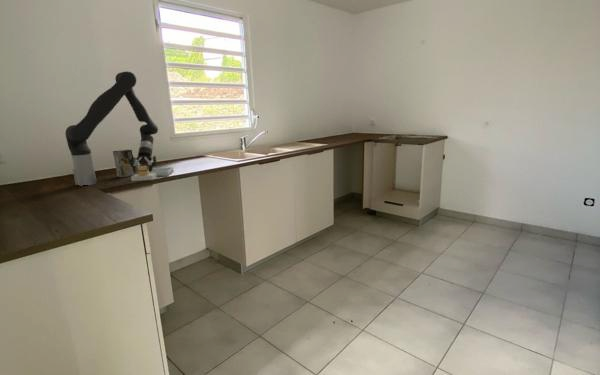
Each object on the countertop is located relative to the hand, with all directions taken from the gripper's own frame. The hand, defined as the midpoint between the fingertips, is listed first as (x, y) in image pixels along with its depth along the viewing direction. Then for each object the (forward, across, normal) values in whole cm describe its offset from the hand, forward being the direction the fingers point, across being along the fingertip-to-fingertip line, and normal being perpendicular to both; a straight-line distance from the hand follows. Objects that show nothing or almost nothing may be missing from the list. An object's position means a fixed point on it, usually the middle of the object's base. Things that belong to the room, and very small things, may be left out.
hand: (142, 171), depth 191 cm
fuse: (+2, 0, +4) cm, 5 cm away
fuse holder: (+2, 0, +4) cm, 5 cm away
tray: (-6, +6, +13) cm, 15 cm away
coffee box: (-7, -15, +14) cm, 22 cm away
